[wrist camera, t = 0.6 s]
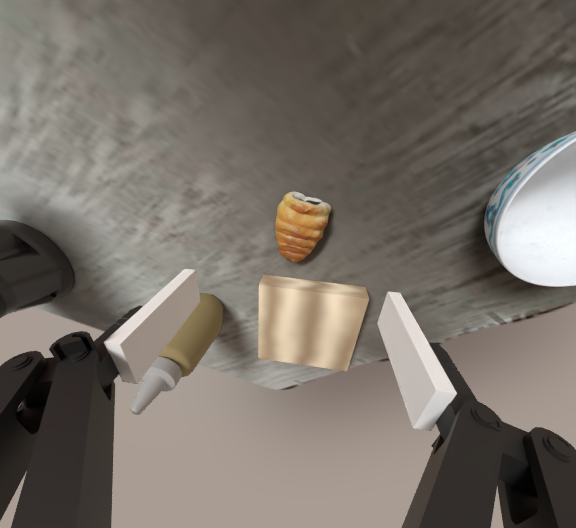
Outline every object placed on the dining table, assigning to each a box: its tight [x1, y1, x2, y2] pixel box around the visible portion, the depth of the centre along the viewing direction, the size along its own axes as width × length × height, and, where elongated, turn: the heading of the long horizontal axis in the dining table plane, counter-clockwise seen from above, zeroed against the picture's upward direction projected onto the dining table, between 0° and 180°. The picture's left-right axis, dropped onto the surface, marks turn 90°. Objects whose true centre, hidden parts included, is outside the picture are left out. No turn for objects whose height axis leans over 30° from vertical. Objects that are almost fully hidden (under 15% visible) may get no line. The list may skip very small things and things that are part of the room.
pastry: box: [275, 192, 331, 262], centre depth 29 cm, size 9×7×4 cm
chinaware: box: [484, 132, 576, 287], centre depth 22 cm, size 15×15×8 cm
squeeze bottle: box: [130, 293, 224, 414], centre depth 32 cm, size 8×8×18 cm
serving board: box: [258, 275, 369, 371], centre depth 37 cm, size 16×16×3 cm
